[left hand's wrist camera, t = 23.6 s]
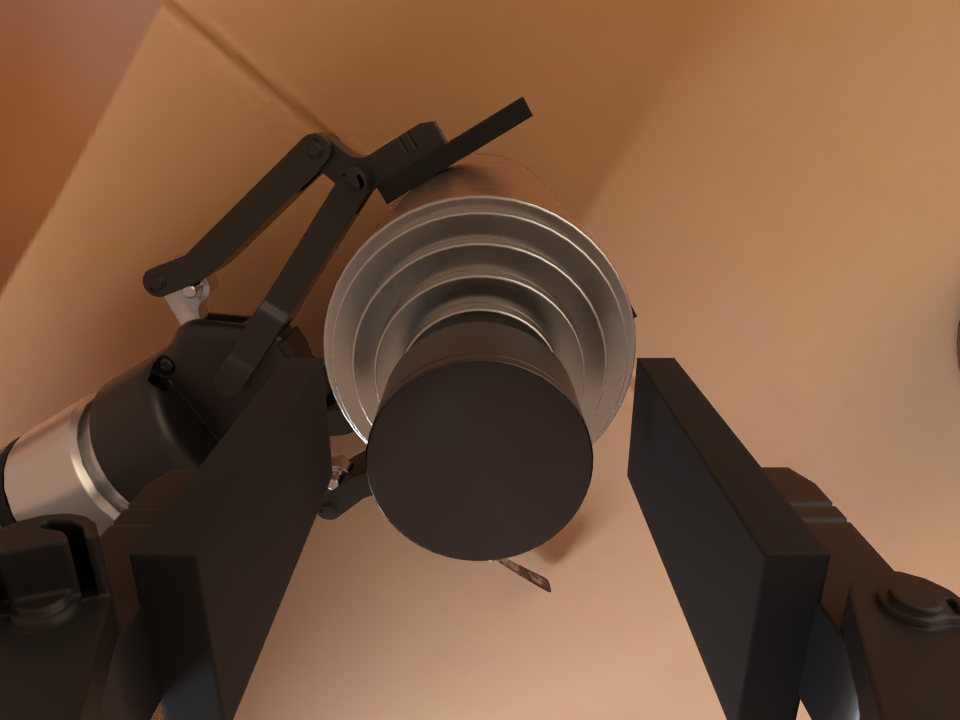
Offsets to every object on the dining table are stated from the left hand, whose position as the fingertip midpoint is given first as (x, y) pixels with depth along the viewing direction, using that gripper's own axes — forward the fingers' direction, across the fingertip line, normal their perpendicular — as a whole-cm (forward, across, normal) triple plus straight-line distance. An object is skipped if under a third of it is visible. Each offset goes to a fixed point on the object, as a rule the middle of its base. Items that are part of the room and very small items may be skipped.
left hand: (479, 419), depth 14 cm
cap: (-2, 0, 0) cm, 2 cm away
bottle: (+22, 0, 0) cm, 22 cm away
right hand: (+15, -4, -2) cm, 16 cm away
